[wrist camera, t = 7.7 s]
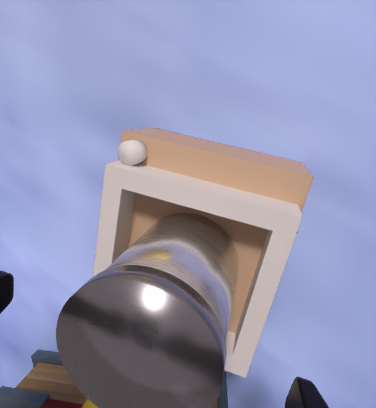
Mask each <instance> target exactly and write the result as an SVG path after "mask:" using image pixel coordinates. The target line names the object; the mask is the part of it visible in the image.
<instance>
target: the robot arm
mask: <svg viewBox="0 0 376 408" xmlns="http://www.w3.org/2000/svg"><path fill="white" fill-rule="evenodd" d="M13 290H14V278H13V275H11V274H10V273H7V272H4V271H0V313H1V312H2V311H3V310H4V309H5V308H6V307H7V306H8V305H9V304H10V302H11V301H12V298H13ZM285 408H329V407H328V405H327V404H326V402H325V401H324V399H323V398H322V396H321V395H320V393H319V391H318V390H317V388H316V387H315V385H314V384H313V383H312V382H311V381H309V380H306V379H303V378H301V377H296V378H295V379H294V381H293V384H292V386H291V388H290V391H289V393H288V396H287V398H286V402H285Z"/></svg>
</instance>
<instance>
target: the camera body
mask: <svg viewBox="0 0 376 408" xmlns="http://www.w3.org/2000/svg"><path fill="white" fill-rule="evenodd" d="M118 157H119V160H118V161H115V162H112V163H108V164H106V166H105V174H104V183H103V192H102V201H101V210H100V219H99V228H98V236H97V245H96V254H95V263H94V272H93V277H94V276H95V275H97V274H98V273H100V272H102V271H104V270H106V269H107V268H108V267H109V266H110V265H111V264H112V263H113V262H114V261H115V260H116V259H117V258H118V257H119V256H120V255H121V254H123V253H124V252H125V251H126V250H127V249H128V248H129V247H130V246H131V245H132V244H133V243H134V242H135V241H136V240H137V239H139V238H140V237H141V236H142V235H143V234H144V233H145V232H146V231H147V230H148V229H149V228H150V227H151V226H152V225H153V224H155V223H156V222H157V221H158V220H160V219H161V218H163V217H165V216H168V215H171V214H176V213H193V214H198V215H201V216H204V217H206V218H208V219H210V220H212V221H214V222H215V223H217V224H218V225H219V226H220V227H222V228H223V229H224V230H225V231H226V232H227V234H228V235H229V236H230V238H231V239H232V241H233V243H234V245H235V247H236V250H237V254H238V259H239V270H238V276H237V281H236V287H235V292H234V298H233V304H232V309H231V315H230V320H229V326H228V331H227V337H226V348H227V354H226V364H225V371H228V372H231V373H233V374H236V375H239V376H241V377H244V378H246V376H247V373H248V370H249V367H250V364H251V361H252V359H253V356H254V353H255V350H256V347H257V344H258V342H259V339H260V336H261V333H262V330H263V327H264V324H265V322H266V319H267V316H268V313H269V310H270V307H271V305H272V302H273V299H274V296H275V293H276V290H277V288H278V285H279V282H280V279H281V276H282V273H283V270H284V268H285V265H286V262H287V259H288V256H289V253H290V251H291V248H292V245H293V242H294V239H295V236H296V234H297V231H298V228H299V225H300V222H301V219H302V214H301V211H302V208H303V205H304V203H305V200H306V197H307V194H308V191H309V188H310V185H311V182H312V180H313V176H312V175H311V174H310V172H309V171H308V170H307V169H306V167H305V166H304V165H303V164H302V163H301V162H297V161H293V160H288V159H284V158H280V157H276V156H271V155H267V154H263V153H258V152H254V151H250V150H246V149H241V148H237V147H233V146H229V145H224V144H220V143H216V142H212V141H207V140H203V139H199V138H195V137H190V136H186V135H182V134H177V133H173V132H169V131H165V130H160V129H156V128H151V129H139V130H127V131H122V136H121V144H120V146H119V148H118Z"/></svg>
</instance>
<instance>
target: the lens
mask: <svg viewBox="0 0 376 408" xmlns="http://www.w3.org/2000/svg"><path fill="white" fill-rule="evenodd" d="M238 270H239V259H238V254H237V250H236V247H235V245H234V243H233V241H232V239H231V238H230V236H229V235H228V234H227V232H226V231H225V230H224V229H223V228H222V227H220V226H219V225H218V224H217V223H215V222H214V221H212V220H210V219H208V218H206V217H204V216H201V215H198V214H193V213H176V214H171V215H168V216H165V217H163V218H161V219H160V220H158V221H157V222H156V223H155V224H153V225H152V226H151V227H150V228H149V229H148V230H147V231H146V232H145V233H144V234H143V235H142V236H141V237H140V238H139V239H137V240H136V241H135V242H134V243H133V244H132V245H131V246H130V247H129V248H128V249H127V250H126V251H125V252H124V253H123V254H121V255H120V256H119V257H118V258H117V259H116V260H115V261H114V262H113V263H112V264H111V265H110V266H109V267H108V268H107V269H106V270H104V271H102V272H100V273H98V274H97V275H95V276H94V277H92V278H91V279H90V280H89V281H88V282H87V283H86V284H84V285H83V286H82V287H81V288H80V289H79V290H78V291H77V292H76V293H75V294H74V295H73V296H71V297H70V298H69V300H68V301H67V302H66V304H65V305H64V307H63V309H62V310H61V312H60V315H59V318H58V322H57V329H56V340H57V347H58V351H59V355H60V358H61V361H62V363H63V366H64V368H65V369H66V371H67V373H68V375H69V377H70V378H71V380H72V381H73V383H74V384H75V385H76V386H77V388H78V389H79V390H80V391H81V392H82V393H83V394H84V395H85V396H86V397H87V398H88V399H89V400H90V401H91V402H92V403H93V404H94V405H96V406H97V407H98V408H213V406H214V405H215V403H216V402H217V399H218V397H219V394H220V391H221V387H222V382H223V376H224V370H225V364H226V354H227V348H226V337H227V331H228V326H229V320H230V315H231V309H232V304H233V298H234V292H235V287H236V281H237V276H238Z"/></svg>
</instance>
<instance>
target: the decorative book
mask: <svg viewBox="0 0 376 408" xmlns="http://www.w3.org/2000/svg"><path fill="white" fill-rule="evenodd" d="M31 358H32V361H33V365H34V366H33V369H32V370H31V371H30V373H29V374H28V375H27V376H26V377H25V378H24V379H23V380H22V381H21V382H20V383H19V384H18V385H17V387H16V388H10V387H4V386H2V387H1V388H0V408H98V407H97V406H96V405H94V404H93V403H92V402H91V401H90V400H89V399H88V398H87V397H86V396H85V395H84V394H83V393H82V392H81V391H80V390H79V389H78V388H77V386H76V385H75V384H74V383H73V381H72V380H71V378H70V377H69V375H68V373H67V371H66V369H65V368H64V366H63V363H62V361H61V358H60V355H59V353H57V352H50V351H42V350H37V351H36V352H35V353H34V354H33V355H32V356H31ZM213 408H228V399H227V384H226V373H224V376H223V382H222V387H221V391H220V394H219V397H218V399H217V402H216V403H215V405H214V406H213Z"/></svg>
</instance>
